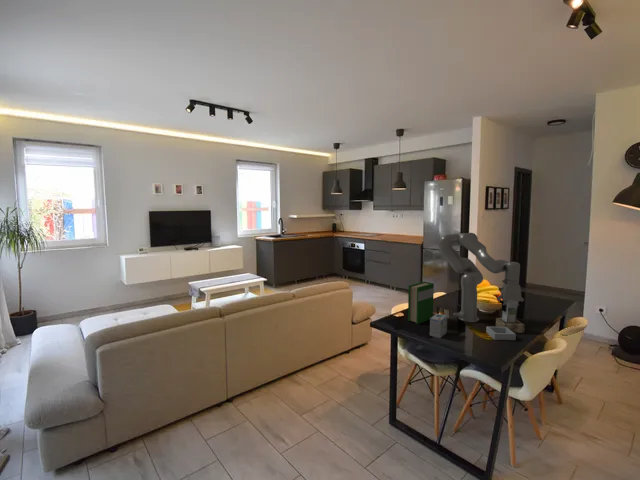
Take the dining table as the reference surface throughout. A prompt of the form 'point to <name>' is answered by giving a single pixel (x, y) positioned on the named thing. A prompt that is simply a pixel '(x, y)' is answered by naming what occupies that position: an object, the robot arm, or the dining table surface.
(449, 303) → the dining table surface
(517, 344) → the dining table surface
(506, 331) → the seat block
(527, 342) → the dining table surface
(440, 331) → the light bulb box
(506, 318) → the syrup box
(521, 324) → the brown square tray
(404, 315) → the dining table surface
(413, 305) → the hardback book
